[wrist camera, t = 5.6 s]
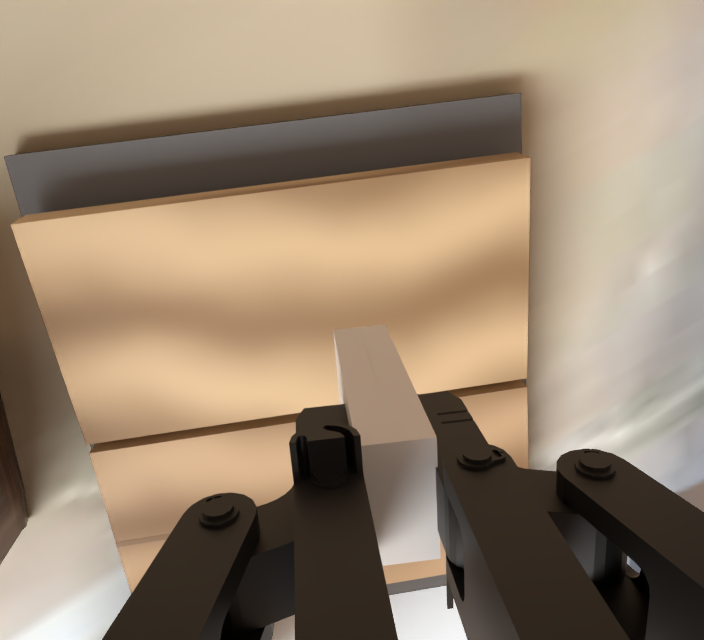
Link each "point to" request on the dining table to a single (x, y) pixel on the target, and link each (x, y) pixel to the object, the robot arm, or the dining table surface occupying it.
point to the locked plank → (251, 472)
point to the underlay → (268, 163)
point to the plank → (281, 291)
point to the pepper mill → (9, 491)
